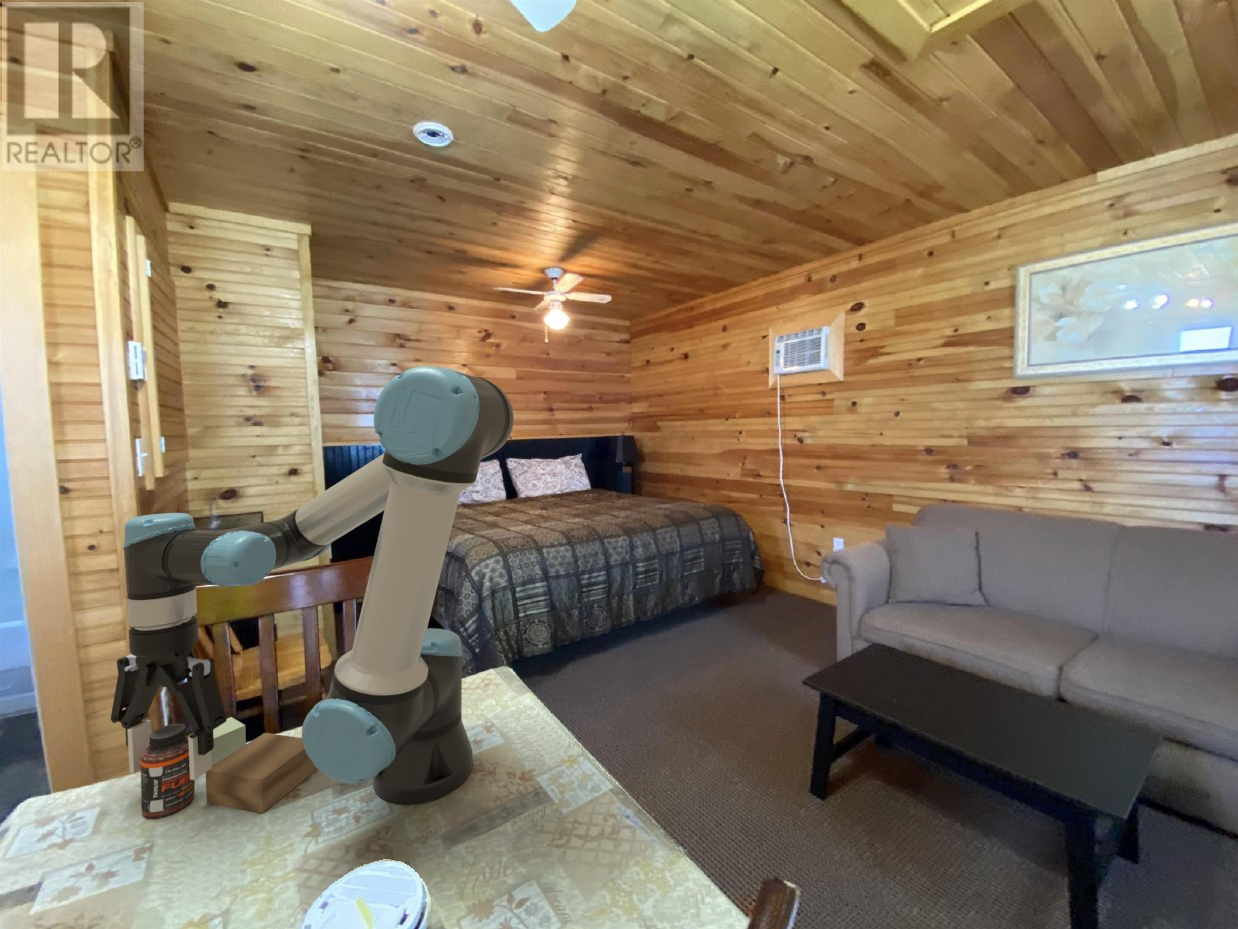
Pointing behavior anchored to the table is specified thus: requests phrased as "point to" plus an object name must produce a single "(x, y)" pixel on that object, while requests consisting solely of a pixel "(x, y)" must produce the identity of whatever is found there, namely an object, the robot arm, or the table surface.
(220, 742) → the sage block
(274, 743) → the walnut block
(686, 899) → the table surface
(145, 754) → the supplement bottle
